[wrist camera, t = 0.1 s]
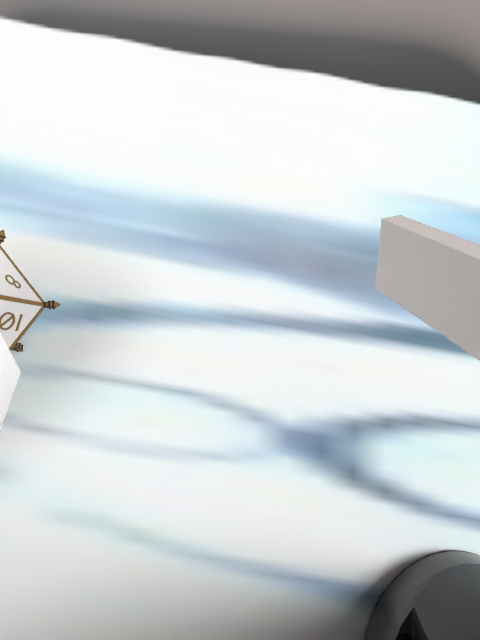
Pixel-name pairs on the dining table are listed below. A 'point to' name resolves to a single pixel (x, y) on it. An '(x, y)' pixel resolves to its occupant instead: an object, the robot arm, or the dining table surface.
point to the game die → (17, 301)
